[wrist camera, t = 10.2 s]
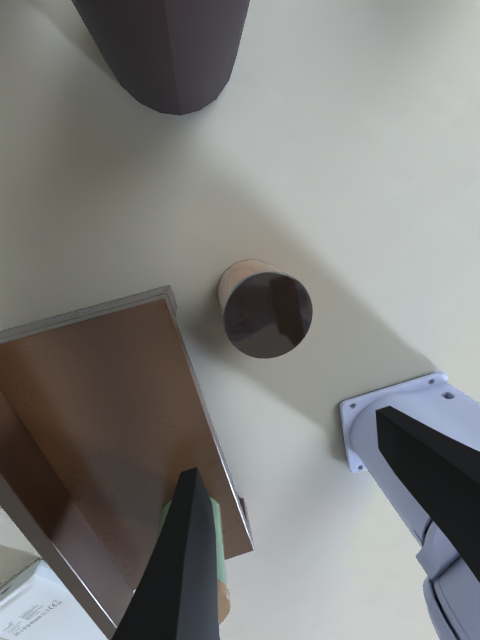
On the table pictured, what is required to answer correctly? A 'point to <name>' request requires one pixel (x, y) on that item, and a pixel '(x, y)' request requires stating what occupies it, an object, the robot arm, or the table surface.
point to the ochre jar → (263, 309)
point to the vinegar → (168, 47)
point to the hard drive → (43, 609)
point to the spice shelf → (105, 444)
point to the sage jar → (221, 569)
